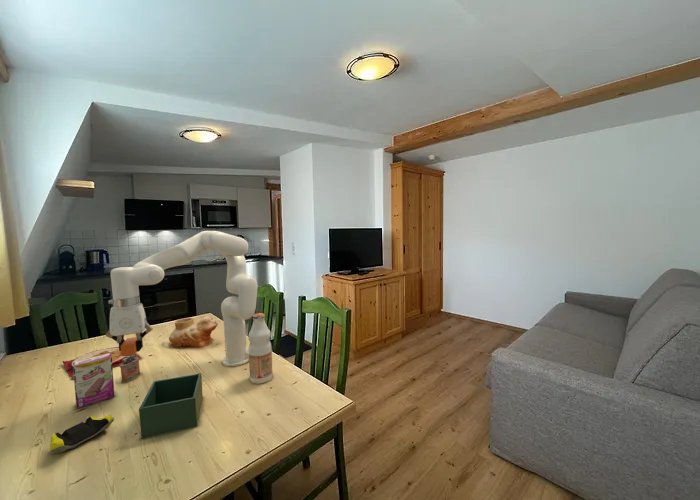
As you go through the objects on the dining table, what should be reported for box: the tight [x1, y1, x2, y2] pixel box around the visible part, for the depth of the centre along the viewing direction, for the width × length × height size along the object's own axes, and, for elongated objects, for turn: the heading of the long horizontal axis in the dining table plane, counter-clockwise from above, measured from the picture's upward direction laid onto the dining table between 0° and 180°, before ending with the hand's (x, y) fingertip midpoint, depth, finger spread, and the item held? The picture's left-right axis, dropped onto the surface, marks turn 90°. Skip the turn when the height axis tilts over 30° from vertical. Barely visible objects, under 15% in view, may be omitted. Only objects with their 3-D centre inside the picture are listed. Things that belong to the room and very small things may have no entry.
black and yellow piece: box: [49, 414, 115, 454], centre depth 92 cm, size 15×6×10 cm
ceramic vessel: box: [168, 315, 219, 349], centre depth 167 cm, size 14×26×15 cm, turn 89°
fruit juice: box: [247, 312, 274, 385], centre depth 127 cm, size 9×9×28 cm
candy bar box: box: [73, 353, 115, 410], centre depth 113 cm, size 11×5×16 cm, turn 135°
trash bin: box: [138, 372, 204, 440], centre depth 103 cm, size 16×18×10 cm
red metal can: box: [119, 353, 141, 384], centre depth 130 cm, size 8×3×10 cm, turn 168°
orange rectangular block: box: [121, 336, 138, 356], centre depth 108 cm, size 4×7×4 cm, turn 20°
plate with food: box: [61, 346, 143, 379], centre depth 146 cm, size 24×26×3 cm
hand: (131, 350), depth 108 cm, fingers closed on orange rectangular block, 4 cm apart
